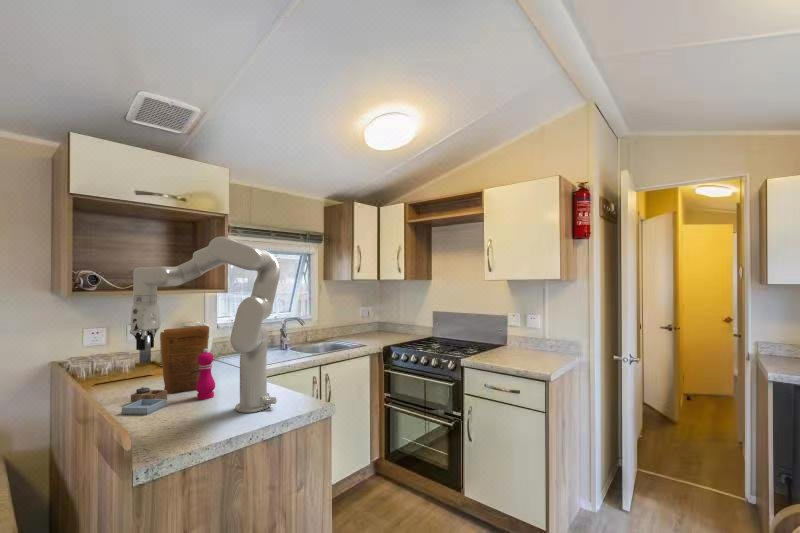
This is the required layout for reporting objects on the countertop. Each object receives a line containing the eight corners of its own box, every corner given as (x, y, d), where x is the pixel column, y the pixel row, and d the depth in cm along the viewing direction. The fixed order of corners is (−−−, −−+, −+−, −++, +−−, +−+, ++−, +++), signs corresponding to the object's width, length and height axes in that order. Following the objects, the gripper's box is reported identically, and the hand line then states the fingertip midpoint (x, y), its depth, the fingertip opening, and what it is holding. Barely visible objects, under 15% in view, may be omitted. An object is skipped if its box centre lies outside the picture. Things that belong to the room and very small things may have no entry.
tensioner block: (167, 399, 158) (167, 385, 158) (154, 405, 151) (154, 389, 151) (144, 399, 159) (144, 384, 159) (130, 405, 152) (130, 389, 152)
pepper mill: (219, 395, 163) (219, 347, 164) (206, 400, 156) (206, 350, 157) (204, 394, 165) (204, 346, 166) (191, 399, 158) (191, 349, 159)
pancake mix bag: (210, 389, 173) (210, 325, 174) (159, 396, 163) (159, 329, 164) (209, 385, 179) (209, 324, 179) (160, 392, 169) (160, 327, 170)
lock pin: (153, 361, 148) (153, 335, 149) (145, 363, 145) (146, 336, 145) (144, 361, 149) (144, 335, 149) (137, 363, 145) (137, 336, 145)
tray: (166, 405, 151) (166, 399, 151) (147, 414, 141) (147, 407, 141) (142, 405, 152) (142, 398, 152) (121, 414, 142) (121, 407, 142)
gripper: (137, 301, 139) (137, 353, 138) (169, 298, 155) (169, 345, 155) (118, 301, 139) (117, 353, 139) (152, 298, 156) (152, 345, 155)
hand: (145, 348), depth 147 cm, fingers closed on lock pin, 3 cm apart
